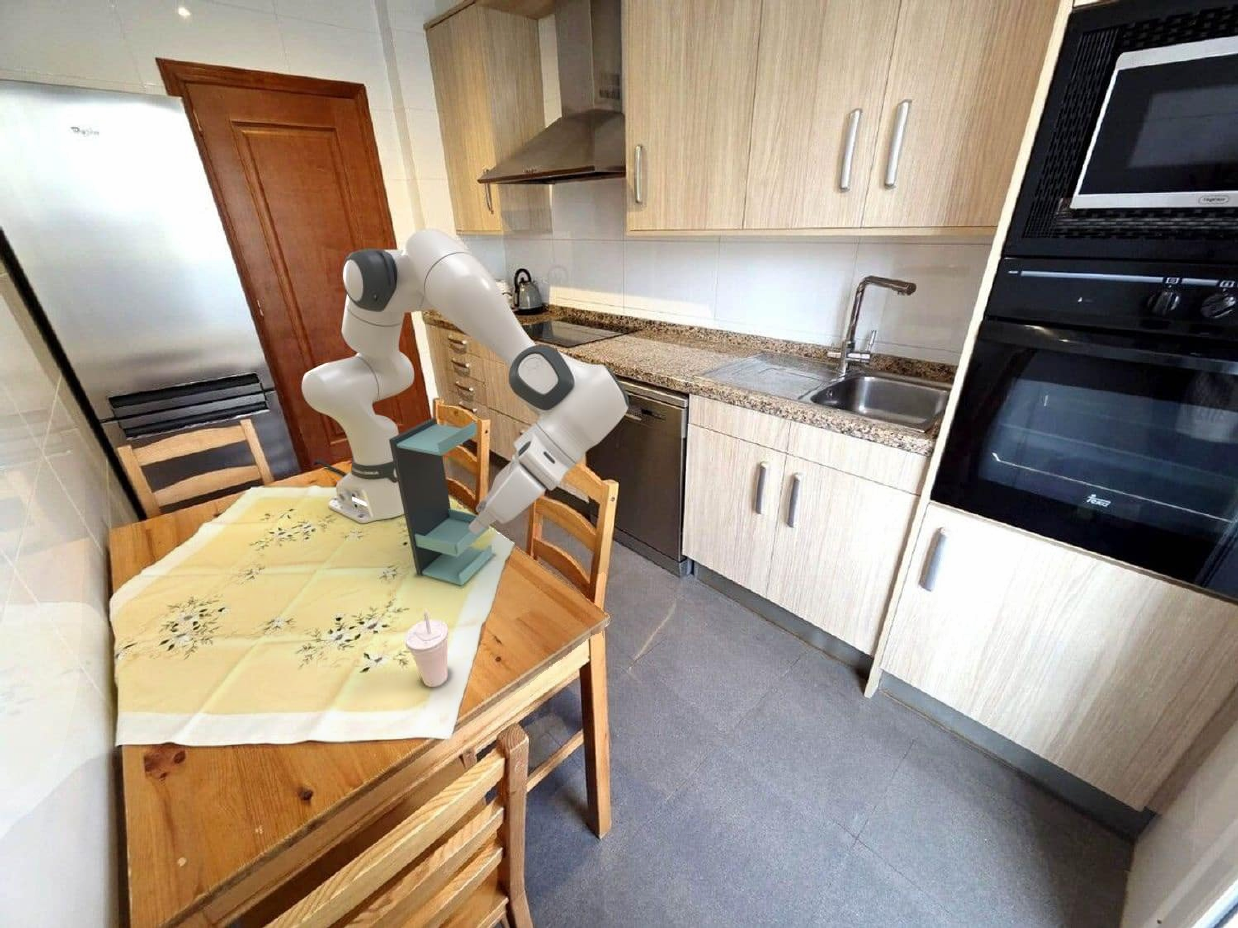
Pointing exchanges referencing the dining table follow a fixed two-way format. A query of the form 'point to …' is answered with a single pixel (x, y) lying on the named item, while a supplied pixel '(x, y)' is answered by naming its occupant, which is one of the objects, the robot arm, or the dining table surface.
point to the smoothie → (429, 649)
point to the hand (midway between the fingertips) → (475, 520)
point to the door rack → (435, 503)
